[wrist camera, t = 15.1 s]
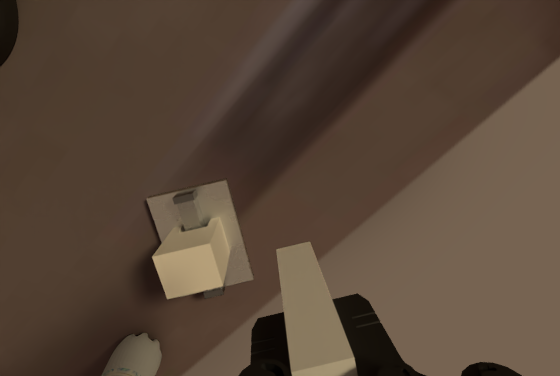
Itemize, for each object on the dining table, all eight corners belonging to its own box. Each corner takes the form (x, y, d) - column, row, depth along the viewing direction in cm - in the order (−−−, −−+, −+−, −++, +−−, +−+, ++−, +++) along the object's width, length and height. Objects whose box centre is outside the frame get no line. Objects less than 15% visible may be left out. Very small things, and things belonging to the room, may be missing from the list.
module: (185, 264, 40) (167, 300, 33) (173, 227, 39) (151, 256, 31) (230, 253, 40) (223, 287, 33) (219, 217, 39) (210, 243, 31)
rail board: (182, 291, 43) (176, 306, 39) (149, 196, 39) (139, 204, 36) (253, 275, 43) (253, 288, 39) (227, 178, 39) (224, 184, 36)
